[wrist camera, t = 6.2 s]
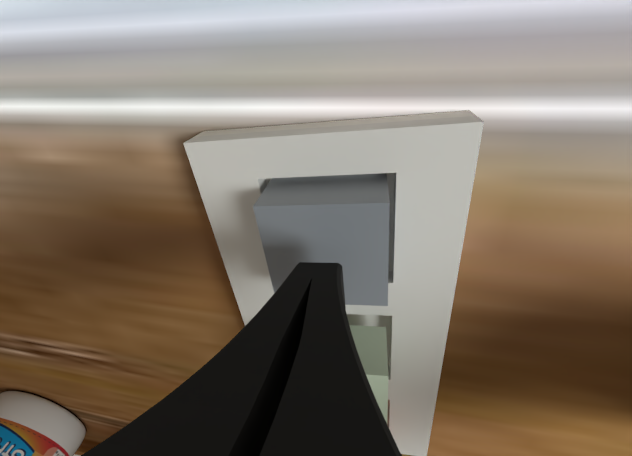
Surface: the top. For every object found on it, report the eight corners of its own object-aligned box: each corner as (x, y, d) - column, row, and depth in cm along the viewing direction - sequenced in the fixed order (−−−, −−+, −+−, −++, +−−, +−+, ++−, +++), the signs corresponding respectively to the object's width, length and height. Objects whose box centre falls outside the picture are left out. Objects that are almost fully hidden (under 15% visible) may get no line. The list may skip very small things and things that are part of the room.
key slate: (385, 265, 14) (387, 305, 12) (289, 264, 14) (276, 302, 12) (386, 172, 11) (389, 202, 9) (272, 177, 12) (252, 206, 10)
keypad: (423, 431, 22) (426, 456, 21) (288, 417, 24) (283, 439, 23) (469, 110, 11) (483, 121, 9) (203, 131, 12) (183, 143, 11)
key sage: (385, 383, 16) (386, 432, 14) (304, 376, 17) (295, 422, 15) (386, 327, 14) (388, 376, 12) (292, 322, 15) (280, 367, 13)
